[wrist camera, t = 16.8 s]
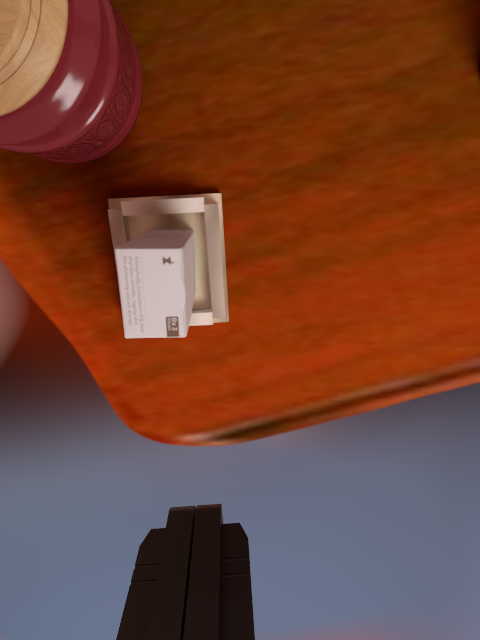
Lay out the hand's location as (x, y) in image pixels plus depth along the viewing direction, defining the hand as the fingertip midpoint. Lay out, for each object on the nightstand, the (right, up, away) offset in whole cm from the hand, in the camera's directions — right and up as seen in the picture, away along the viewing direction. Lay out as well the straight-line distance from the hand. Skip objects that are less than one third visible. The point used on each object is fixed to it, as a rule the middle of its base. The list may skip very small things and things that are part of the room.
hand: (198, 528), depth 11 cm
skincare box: (-5, +11, +24) cm, 27 cm away
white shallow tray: (-5, +12, +24) cm, 28 cm away
